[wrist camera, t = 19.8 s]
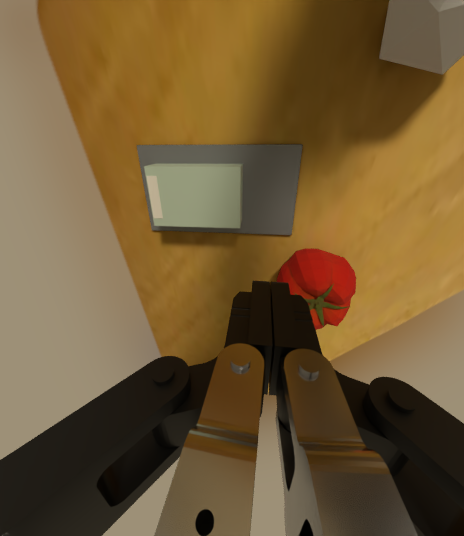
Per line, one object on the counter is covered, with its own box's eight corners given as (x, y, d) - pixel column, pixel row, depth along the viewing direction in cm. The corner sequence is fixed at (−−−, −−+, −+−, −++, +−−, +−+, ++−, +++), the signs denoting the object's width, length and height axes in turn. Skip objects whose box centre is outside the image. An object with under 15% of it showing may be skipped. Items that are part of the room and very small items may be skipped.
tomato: (292, 310, 39) (299, 352, 31) (259, 259, 35) (258, 292, 27) (357, 285, 35) (383, 325, 28) (328, 224, 31) (349, 251, 24)
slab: (242, 163, 28) (156, 163, 30) (240, 166, 25) (143, 166, 26) (242, 219, 32) (164, 217, 33) (240, 228, 29) (154, 225, 30)
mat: (138, 145, 29) (136, 145, 29) (302, 144, 27) (302, 144, 27) (153, 229, 34) (152, 230, 34) (291, 234, 32) (291, 235, 32)
